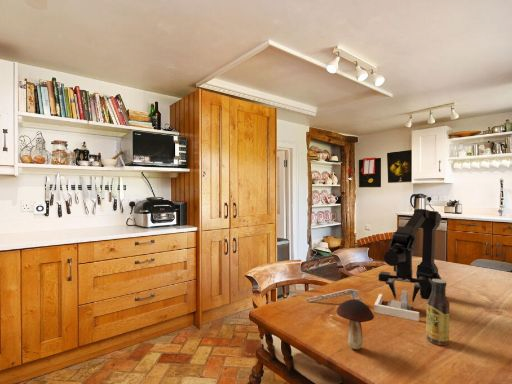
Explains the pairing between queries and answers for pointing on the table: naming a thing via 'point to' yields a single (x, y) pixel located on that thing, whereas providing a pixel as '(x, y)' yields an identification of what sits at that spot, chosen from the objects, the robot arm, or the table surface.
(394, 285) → the robot arm
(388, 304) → the pad
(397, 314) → the white l-shaped block
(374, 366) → the table surface
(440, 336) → the sauce bottle
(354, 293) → the bracket
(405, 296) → the aluminium bracket
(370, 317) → the decorative mushroom
